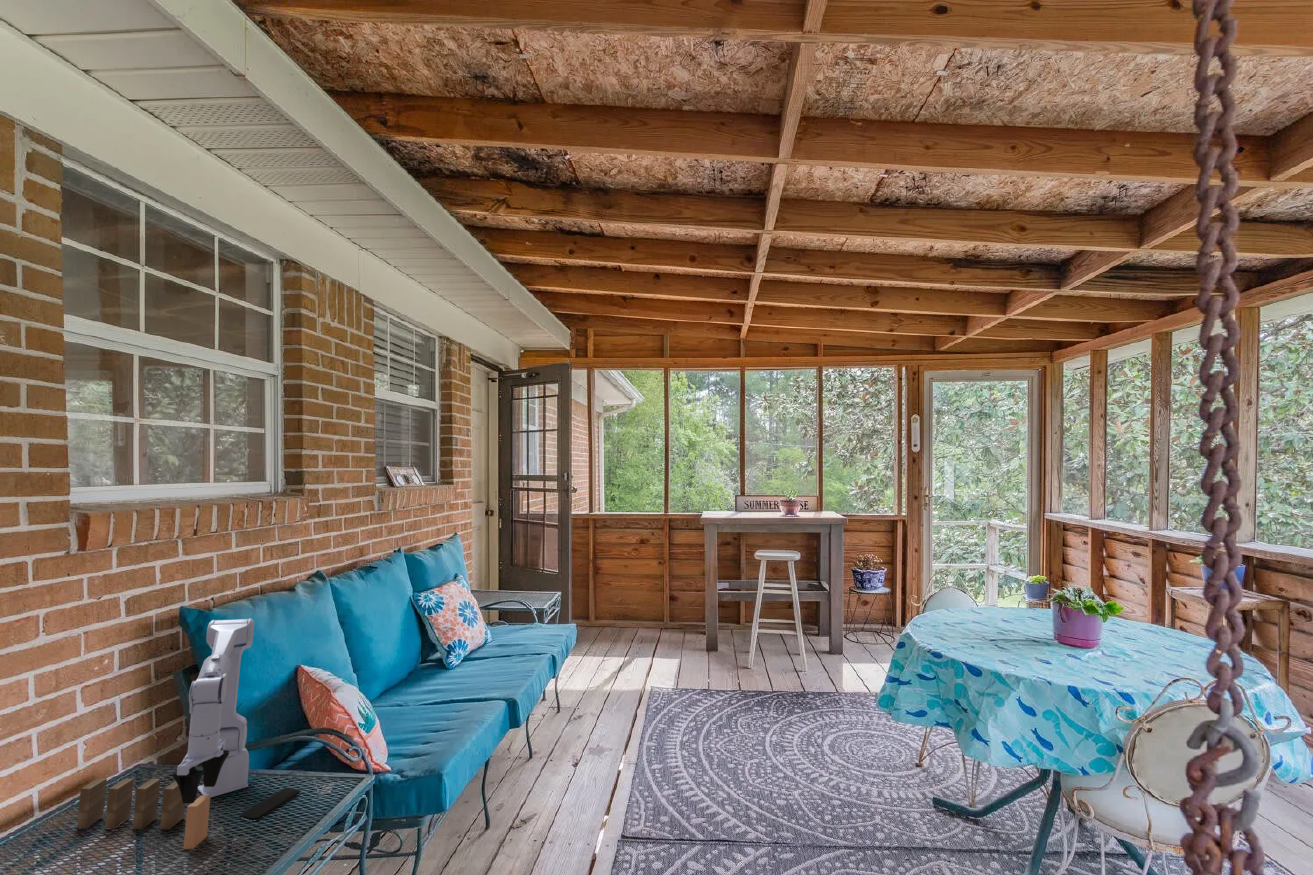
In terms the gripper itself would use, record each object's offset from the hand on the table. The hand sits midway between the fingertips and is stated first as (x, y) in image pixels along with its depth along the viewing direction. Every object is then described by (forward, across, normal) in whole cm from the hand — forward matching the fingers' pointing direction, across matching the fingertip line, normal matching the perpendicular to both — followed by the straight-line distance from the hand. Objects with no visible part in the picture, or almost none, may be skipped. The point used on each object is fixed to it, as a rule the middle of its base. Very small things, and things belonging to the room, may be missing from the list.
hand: (199, 794), depth 146 cm
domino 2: (+10, +8, +22) cm, 26 cm away
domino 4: (+10, +8, +10) cm, 16 cm away
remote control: (+11, +17, -8) cm, 22 cm away
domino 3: (+10, +8, +16) cm, 21 cm away
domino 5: (+10, 0, 0) cm, 10 cm away
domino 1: (+10, +8, +28) cm, 31 cm away
